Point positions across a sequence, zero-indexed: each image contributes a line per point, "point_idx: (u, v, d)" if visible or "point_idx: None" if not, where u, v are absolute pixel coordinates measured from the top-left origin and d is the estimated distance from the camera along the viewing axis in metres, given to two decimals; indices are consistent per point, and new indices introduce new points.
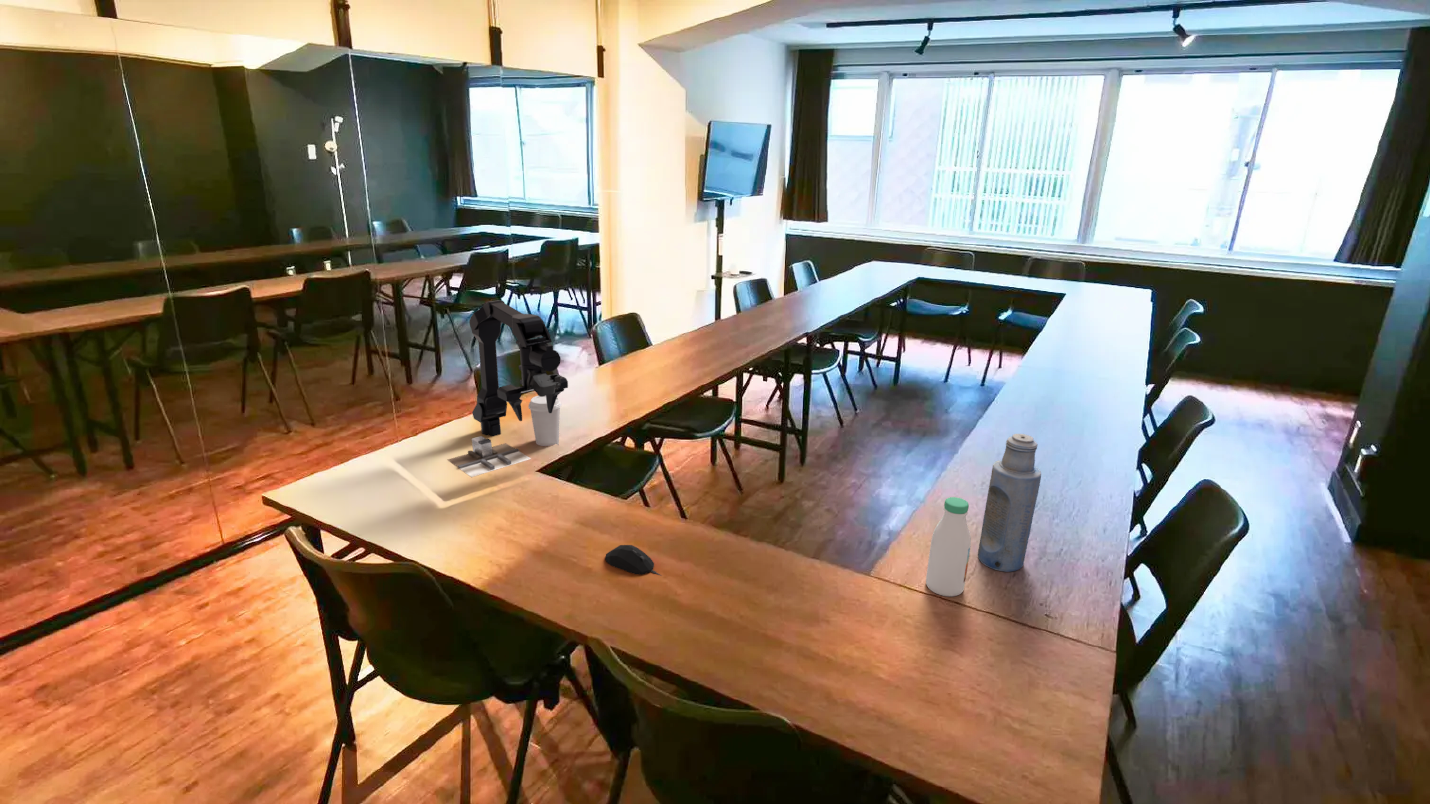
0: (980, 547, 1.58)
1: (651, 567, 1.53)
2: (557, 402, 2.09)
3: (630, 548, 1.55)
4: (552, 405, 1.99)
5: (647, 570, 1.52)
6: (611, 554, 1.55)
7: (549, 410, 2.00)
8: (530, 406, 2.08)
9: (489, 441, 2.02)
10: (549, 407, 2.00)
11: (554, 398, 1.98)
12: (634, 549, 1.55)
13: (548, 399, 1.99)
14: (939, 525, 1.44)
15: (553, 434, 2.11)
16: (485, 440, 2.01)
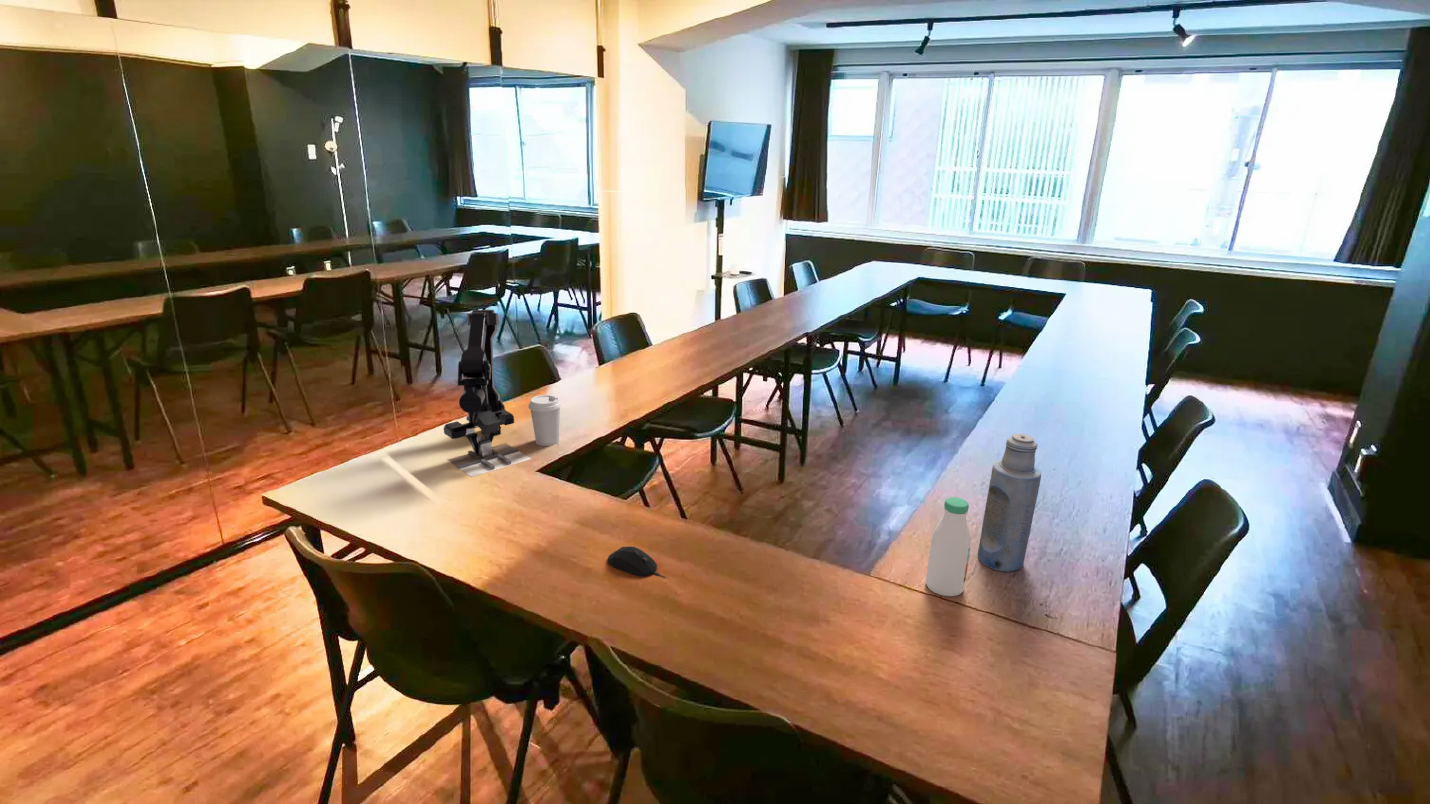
0: (980, 547, 1.58)
1: (654, 569, 1.52)
2: (557, 402, 2.09)
3: (633, 550, 1.54)
4: None
5: (650, 572, 1.51)
6: (614, 556, 1.54)
7: None
8: (530, 406, 2.08)
9: (489, 441, 2.02)
10: None
11: (491, 436, 2.03)
12: (637, 551, 1.54)
13: (486, 436, 2.04)
14: (939, 525, 1.44)
15: (553, 434, 2.11)
16: (485, 440, 2.01)
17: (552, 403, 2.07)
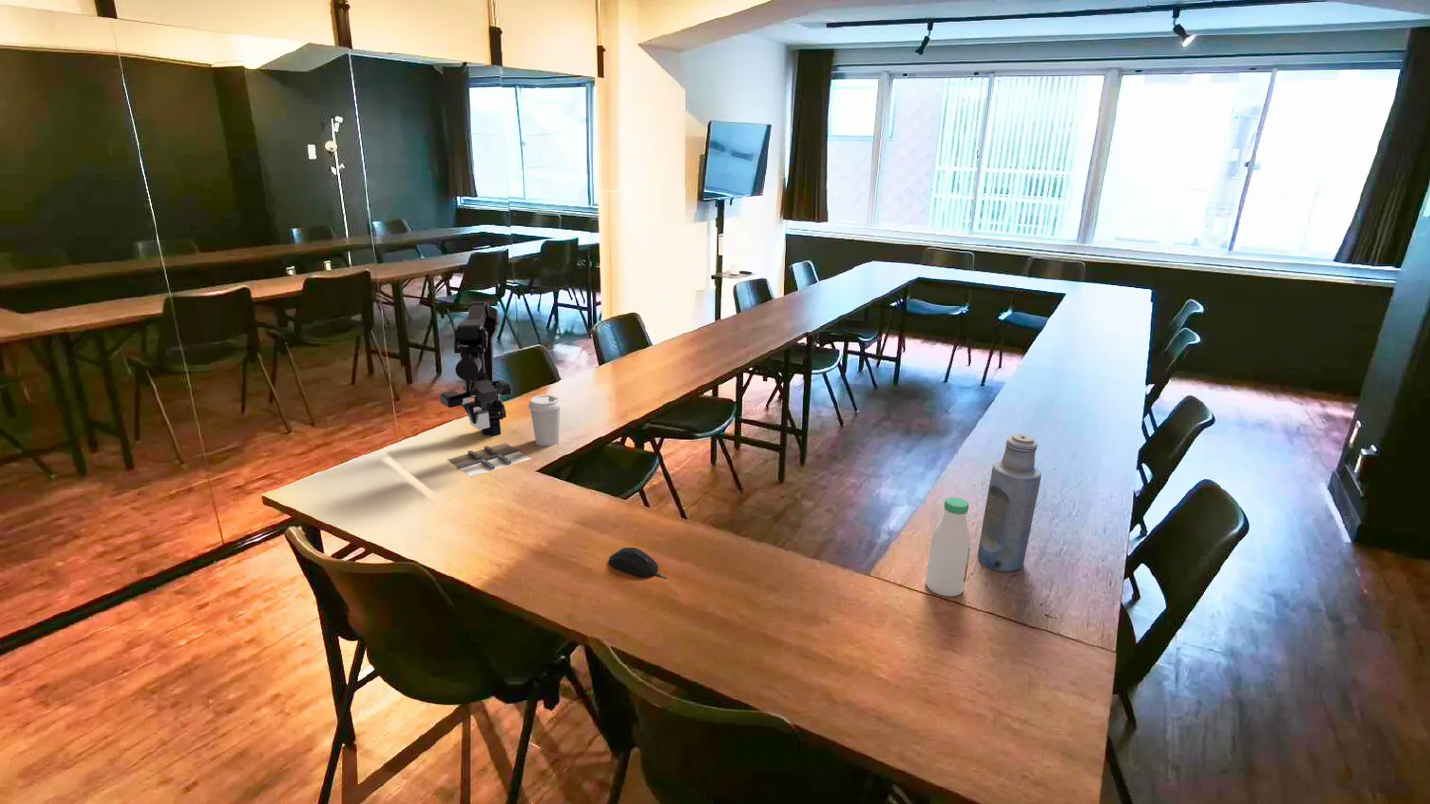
0: (980, 547, 1.58)
1: (655, 570, 1.52)
2: (557, 402, 2.09)
3: (634, 551, 1.54)
4: None
5: (651, 573, 1.51)
6: (615, 557, 1.54)
7: None
8: (530, 406, 2.08)
9: (486, 411, 1.98)
10: None
11: (488, 406, 2.00)
12: (638, 552, 1.54)
13: (483, 407, 2.01)
14: (939, 525, 1.44)
15: (553, 434, 2.11)
16: (482, 410, 1.98)
17: (552, 403, 2.07)
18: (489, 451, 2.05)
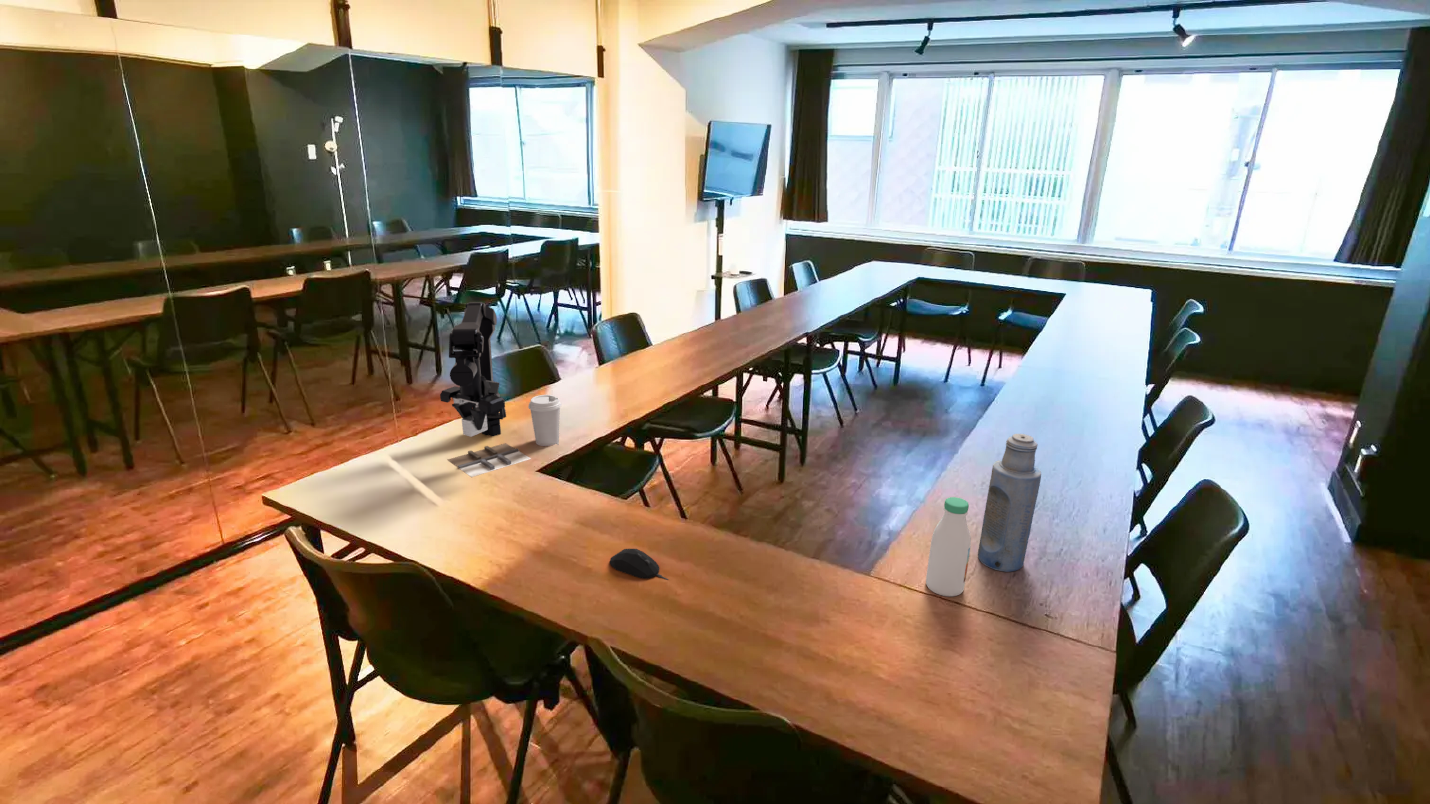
0: (980, 547, 1.58)
1: (657, 571, 1.52)
2: (557, 402, 2.09)
3: (635, 552, 1.53)
4: None
5: (653, 574, 1.51)
6: (616, 558, 1.53)
7: None
8: (530, 406, 2.08)
9: None
10: None
11: None
12: (639, 553, 1.53)
13: (467, 415, 1.94)
14: (939, 525, 1.44)
15: (553, 434, 2.11)
16: None
17: (552, 403, 2.07)
18: (489, 451, 2.05)
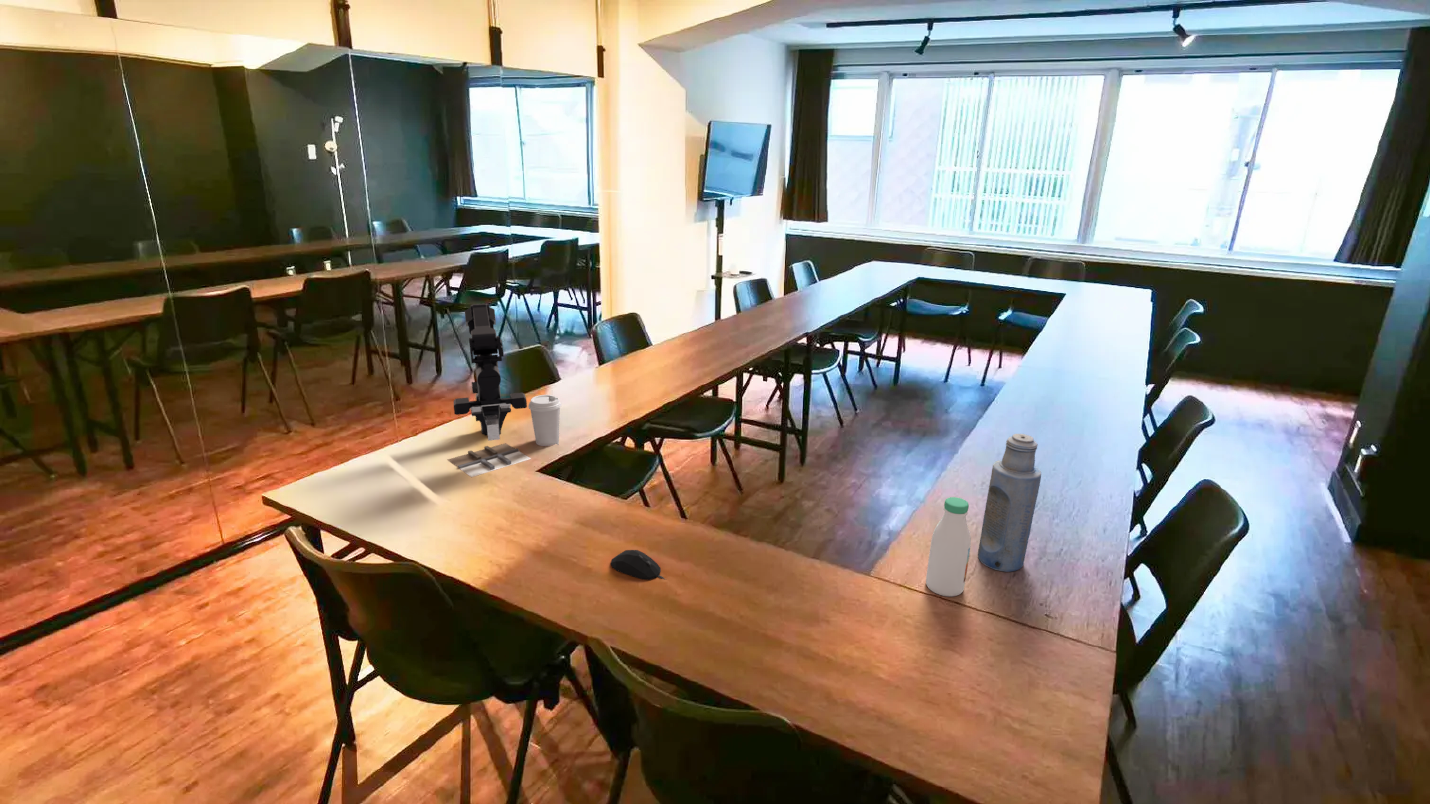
0: (980, 547, 1.58)
1: (658, 572, 1.51)
2: (557, 402, 2.09)
3: (636, 553, 1.53)
4: None
5: (654, 575, 1.50)
6: (617, 559, 1.53)
7: None
8: (530, 406, 2.08)
9: None
10: None
11: None
12: (640, 554, 1.53)
13: (485, 421, 1.93)
14: (939, 525, 1.44)
15: (553, 434, 2.11)
16: (490, 416, 1.96)
17: (552, 403, 2.07)
18: (489, 451, 2.05)
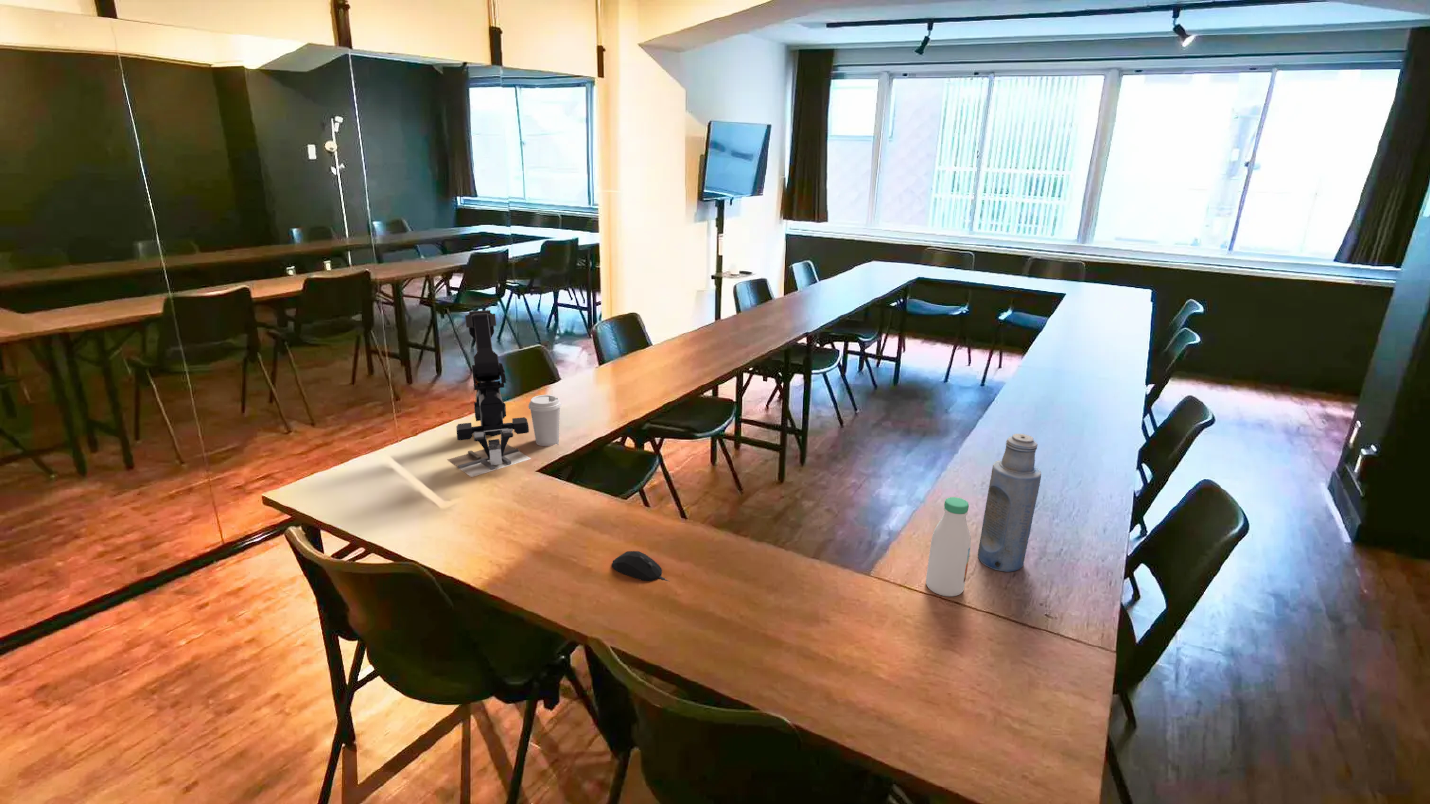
0: (980, 547, 1.58)
1: (659, 573, 1.51)
2: (557, 402, 2.09)
3: (638, 554, 1.53)
4: None
5: (655, 576, 1.50)
6: (618, 561, 1.52)
7: (489, 454, 1.98)
8: (530, 406, 2.08)
9: None
10: None
11: None
12: (642, 555, 1.53)
13: (487, 445, 1.96)
14: (939, 525, 1.44)
15: (553, 434, 2.11)
16: (492, 440, 1.99)
17: (552, 403, 2.07)
18: None
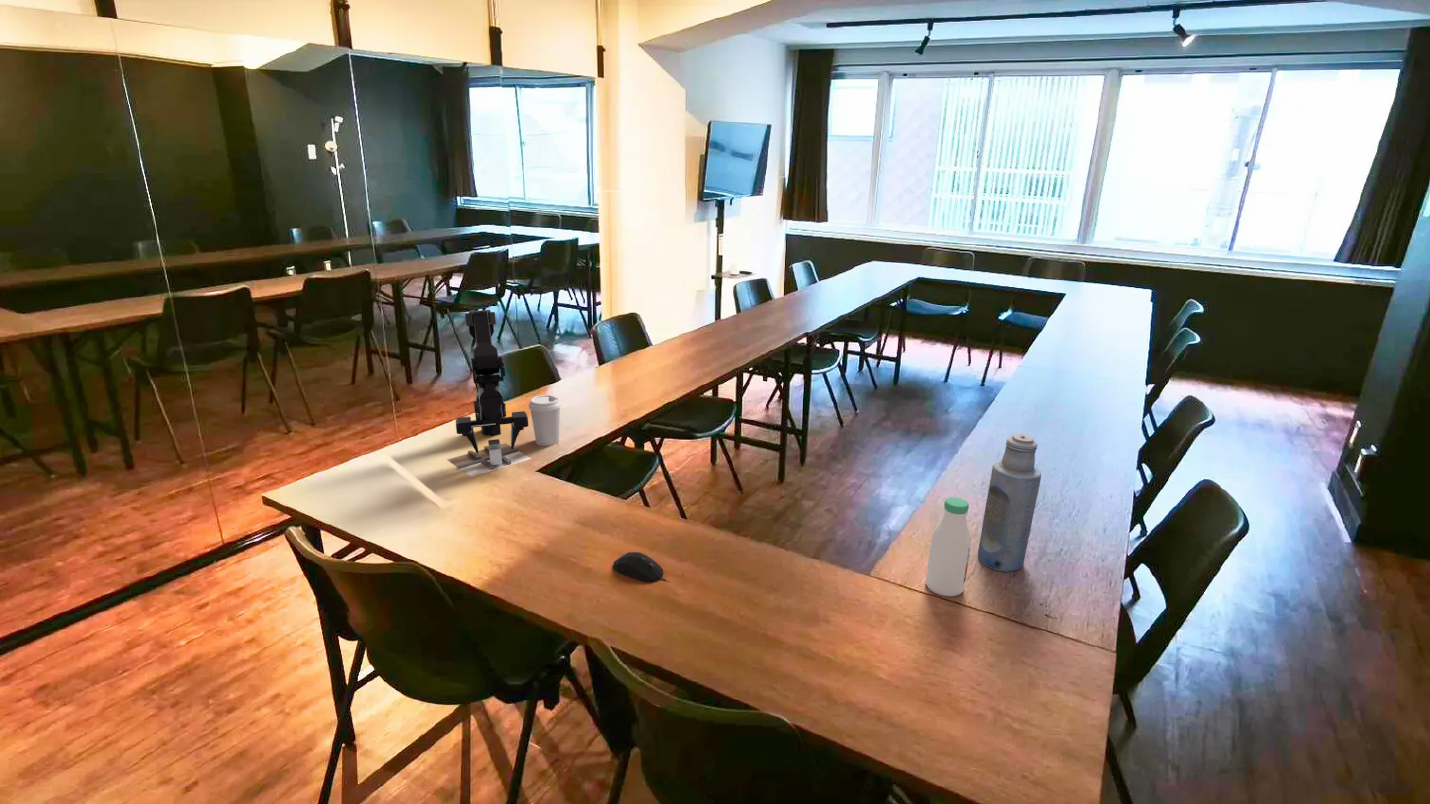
0: (980, 547, 1.58)
1: (661, 574, 1.50)
2: (557, 402, 2.09)
3: (639, 555, 1.52)
4: None
5: (657, 578, 1.49)
6: (619, 562, 1.52)
7: None
8: (530, 406, 2.08)
9: None
10: (477, 447, 1.96)
11: None
12: (643, 556, 1.52)
13: None
14: (939, 525, 1.44)
15: (553, 434, 2.11)
16: (492, 440, 1.99)
17: (552, 403, 2.07)
18: None
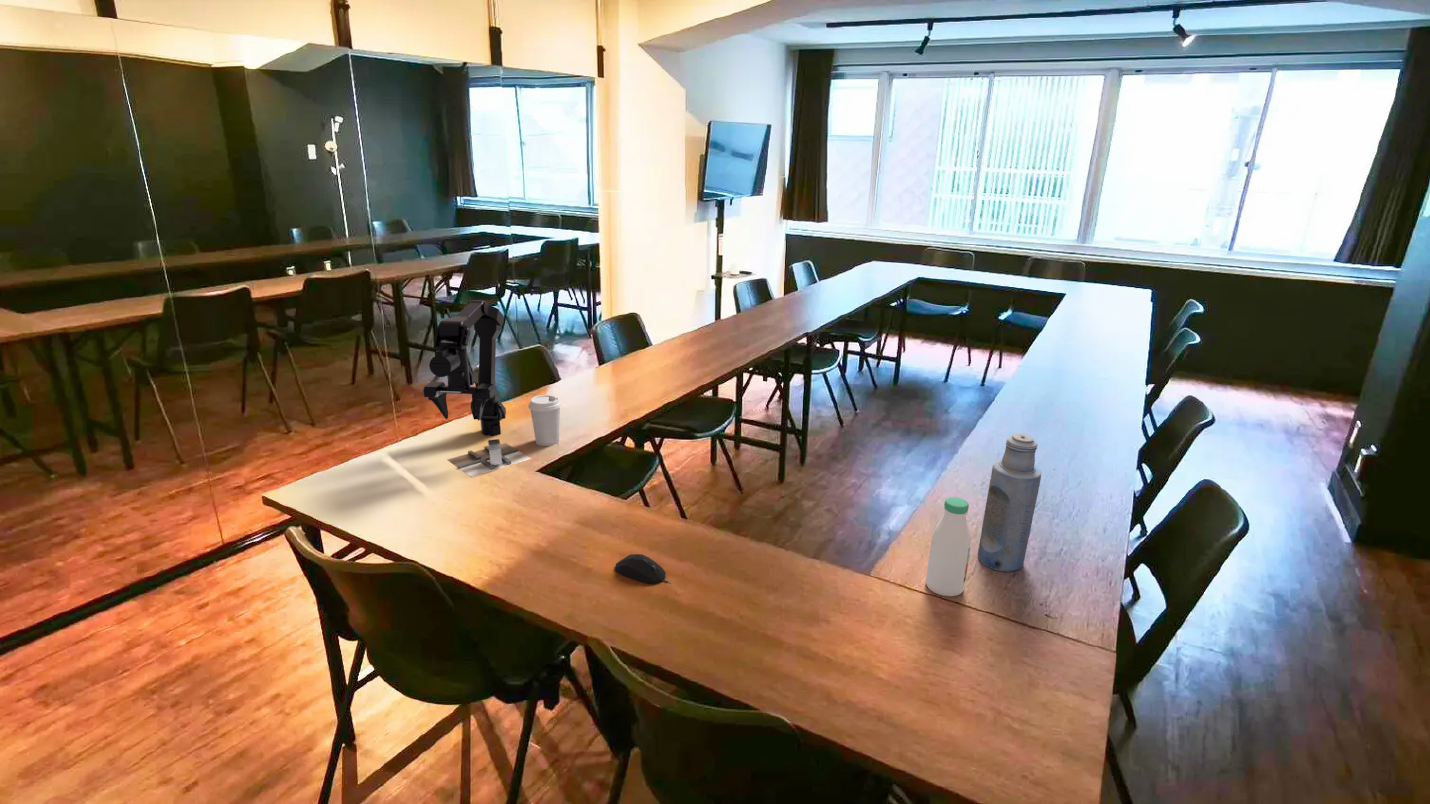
0: (980, 547, 1.58)
1: (663, 576, 1.50)
2: (557, 402, 2.09)
3: (641, 557, 1.51)
4: None
5: (659, 580, 1.49)
6: (621, 564, 1.51)
7: (447, 415, 1.99)
8: (530, 406, 2.08)
9: None
10: (446, 413, 1.99)
11: None
12: (645, 558, 1.52)
13: (444, 406, 1.97)
14: (939, 525, 1.44)
15: (553, 434, 2.11)
16: (492, 440, 1.99)
17: (552, 403, 2.07)
18: None
